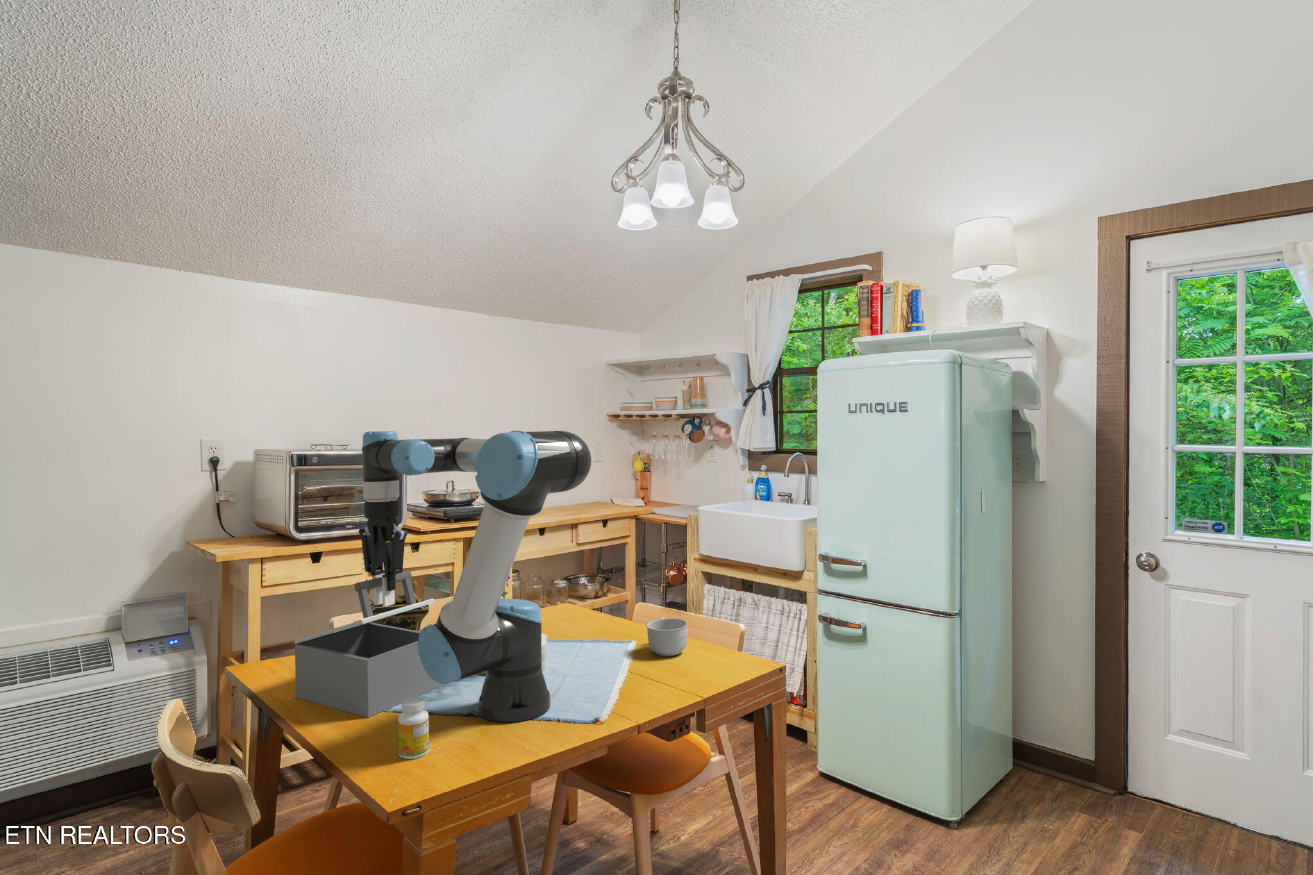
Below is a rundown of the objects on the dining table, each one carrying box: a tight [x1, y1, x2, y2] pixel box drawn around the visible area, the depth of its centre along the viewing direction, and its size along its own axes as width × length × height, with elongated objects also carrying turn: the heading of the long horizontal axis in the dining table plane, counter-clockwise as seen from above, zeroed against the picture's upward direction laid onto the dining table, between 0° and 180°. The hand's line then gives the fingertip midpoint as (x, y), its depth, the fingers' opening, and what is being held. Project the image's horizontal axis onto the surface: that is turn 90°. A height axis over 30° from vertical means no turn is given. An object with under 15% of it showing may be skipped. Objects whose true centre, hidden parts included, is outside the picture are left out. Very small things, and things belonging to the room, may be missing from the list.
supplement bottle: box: [397, 696, 430, 760], centre depth 132 cm, size 5×5×10 cm
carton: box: [294, 622, 441, 719], centre depth 163 cm, size 24×20×12 cm
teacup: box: [646, 616, 689, 657], centre depth 190 cm, size 14×11×8 cm
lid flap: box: [293, 570, 436, 645], centre depth 164 cm, size 24×20×9 cm
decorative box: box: [351, 579, 430, 632], centre depth 198 cm, size 20×10×20 cm, turn 107°
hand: (384, 604), depth 160 cm, fingers open, 2 cm apart
